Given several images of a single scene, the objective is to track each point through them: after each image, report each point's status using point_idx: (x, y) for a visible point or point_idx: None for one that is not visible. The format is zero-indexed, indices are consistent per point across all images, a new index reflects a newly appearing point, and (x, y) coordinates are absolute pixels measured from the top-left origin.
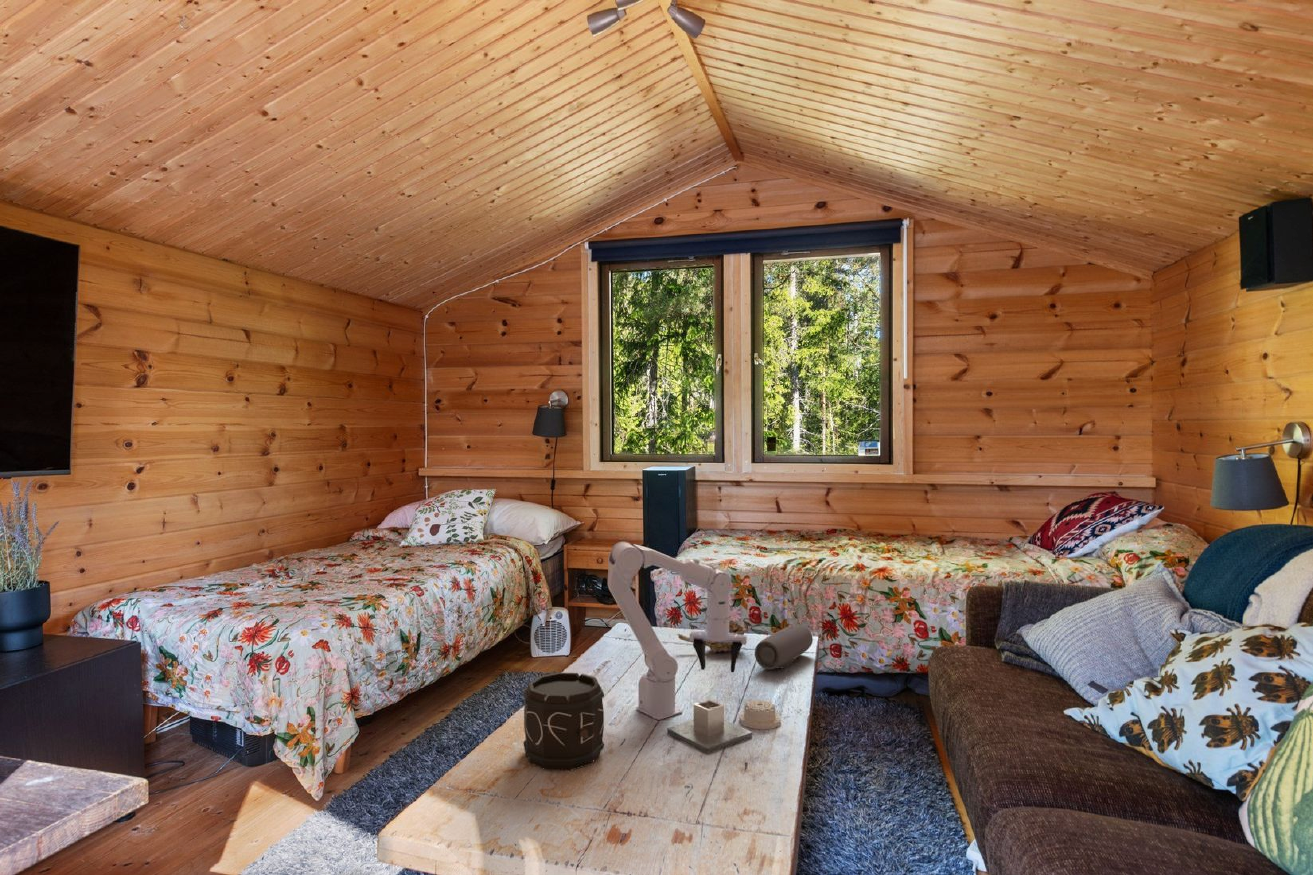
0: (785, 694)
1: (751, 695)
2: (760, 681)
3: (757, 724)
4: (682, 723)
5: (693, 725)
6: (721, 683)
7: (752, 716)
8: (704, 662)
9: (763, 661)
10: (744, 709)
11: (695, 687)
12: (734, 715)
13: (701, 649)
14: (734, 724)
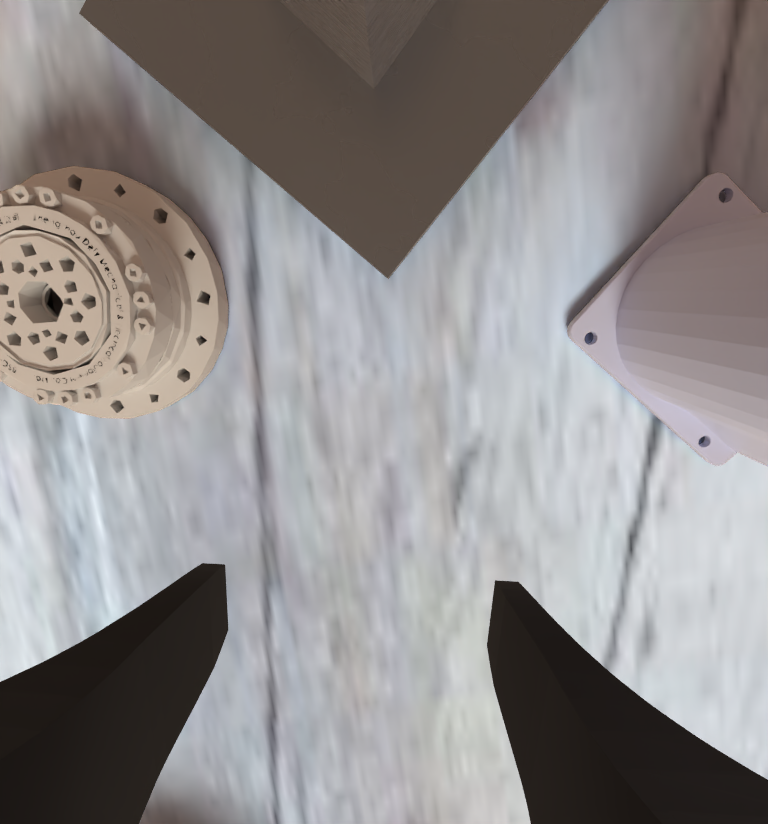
0: None
1: (229, 636)
2: (220, 798)
3: (81, 168)
4: (556, 59)
5: (477, 38)
6: (398, 753)
7: (100, 204)
8: (505, 664)
9: None
10: (161, 279)
11: None
12: (266, 358)
13: (625, 766)
14: (215, 127)
